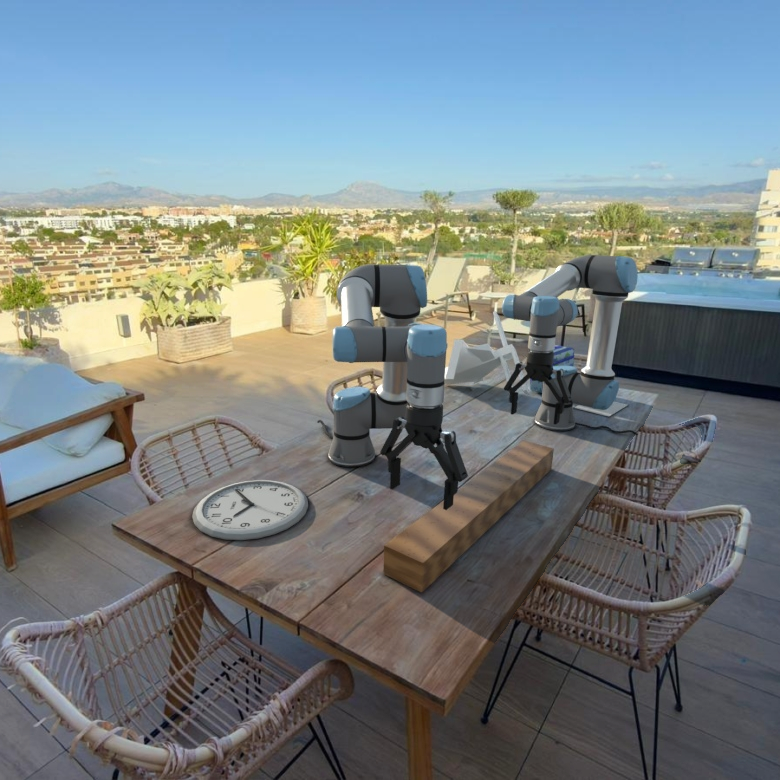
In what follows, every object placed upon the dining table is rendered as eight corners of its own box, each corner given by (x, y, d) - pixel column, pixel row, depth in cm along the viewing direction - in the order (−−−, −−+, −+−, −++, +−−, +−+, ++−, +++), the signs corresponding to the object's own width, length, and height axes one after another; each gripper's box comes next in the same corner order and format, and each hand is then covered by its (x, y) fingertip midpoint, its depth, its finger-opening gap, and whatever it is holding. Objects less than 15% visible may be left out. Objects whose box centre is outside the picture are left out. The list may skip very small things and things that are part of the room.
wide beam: (521, 460, 172) (523, 440, 170) (551, 469, 167) (553, 448, 164) (383, 574, 115) (383, 545, 113) (421, 593, 109) (423, 563, 107)
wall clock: (304, 532, 127) (176, 536, 124) (304, 538, 127) (177, 542, 125) (311, 475, 155) (207, 478, 153) (311, 480, 156) (208, 483, 153)
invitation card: (608, 416, 214) (573, 407, 224) (608, 416, 214) (573, 408, 224) (628, 404, 229) (594, 396, 238) (628, 405, 229) (594, 397, 238)
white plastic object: (461, 429, 252) (437, 405, 227) (444, 352, 274) (420, 323, 250) (535, 404, 240) (518, 377, 215) (510, 326, 262) (492, 293, 237)
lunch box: (546, 398, 236) (551, 353, 229) (525, 393, 243) (529, 349, 237) (573, 387, 253) (579, 344, 247) (553, 382, 260) (558, 341, 254)
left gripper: (364, 394, 109) (364, 485, 116) (470, 423, 95) (463, 524, 102) (386, 386, 115) (385, 472, 122) (489, 412, 101) (481, 508, 107)
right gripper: (496, 346, 157) (491, 412, 163) (579, 359, 143) (571, 431, 149) (506, 342, 162) (502, 406, 169) (588, 354, 148) (579, 423, 155)
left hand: (420, 496), depth 112 cm, fingers open, 13 cm apart
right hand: (534, 418), depth 159 cm, fingers open, 13 cm apart
